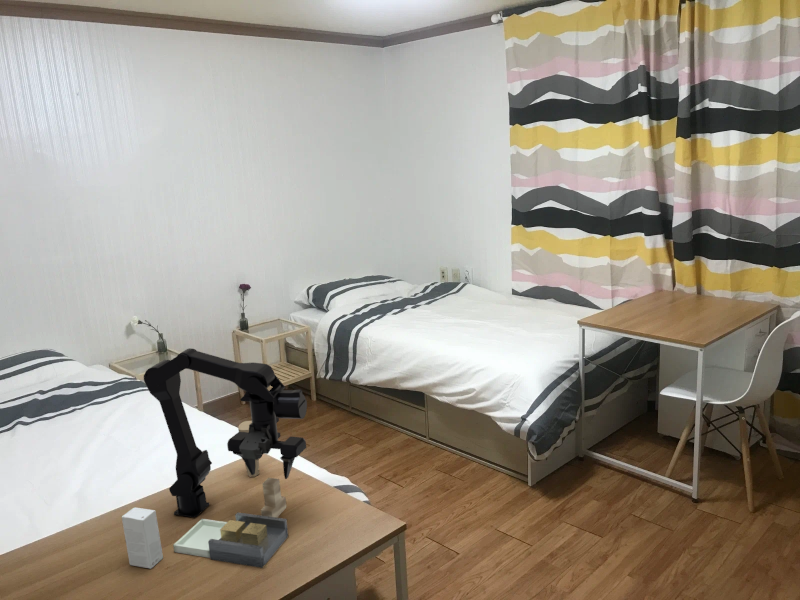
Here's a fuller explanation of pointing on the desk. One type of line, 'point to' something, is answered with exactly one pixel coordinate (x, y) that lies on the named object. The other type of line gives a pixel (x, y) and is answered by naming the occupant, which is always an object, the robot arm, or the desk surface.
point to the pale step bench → (273, 498)
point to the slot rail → (251, 552)
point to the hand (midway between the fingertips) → (269, 476)
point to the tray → (199, 538)
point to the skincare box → (142, 537)
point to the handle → (245, 428)
